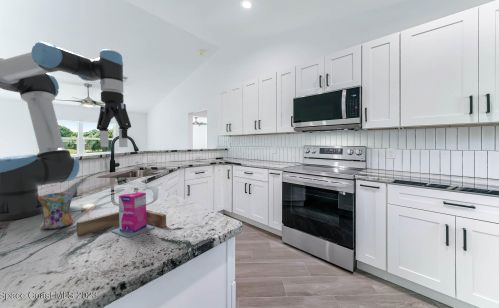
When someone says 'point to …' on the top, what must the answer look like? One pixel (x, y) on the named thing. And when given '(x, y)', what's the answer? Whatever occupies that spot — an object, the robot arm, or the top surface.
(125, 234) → the pad
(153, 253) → the top surface
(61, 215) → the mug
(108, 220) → the wooden l-shaped corner
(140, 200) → the supplement box
